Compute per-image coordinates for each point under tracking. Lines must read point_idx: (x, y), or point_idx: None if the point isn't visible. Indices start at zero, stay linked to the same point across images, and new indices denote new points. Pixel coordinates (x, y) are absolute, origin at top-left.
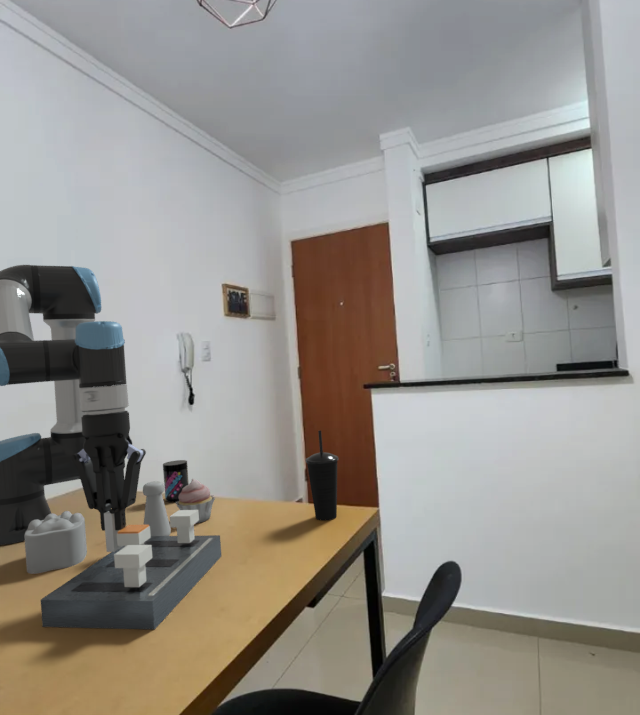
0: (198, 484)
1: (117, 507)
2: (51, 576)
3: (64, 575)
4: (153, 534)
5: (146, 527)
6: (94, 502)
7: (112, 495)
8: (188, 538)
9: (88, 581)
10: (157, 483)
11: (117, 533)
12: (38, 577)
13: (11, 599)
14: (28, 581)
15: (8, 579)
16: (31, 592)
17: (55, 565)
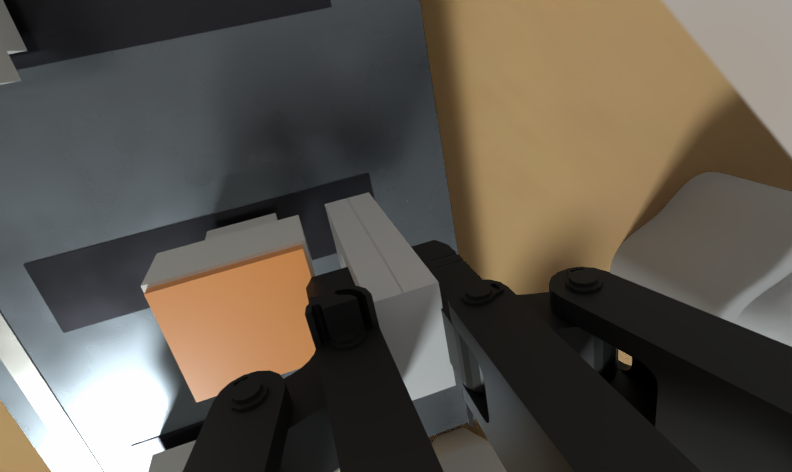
0: None
1: (323, 355)
2: (631, 176)
3: (593, 194)
4: (451, 465)
5: (186, 373)
6: (573, 312)
7: (392, 422)
8: (153, 469)
9: (312, 23)
10: None
11: (305, 245)
12: (668, 158)
13: (645, 5)
14: (680, 126)
15: (752, 119)
16: (615, 66)
17: (662, 221)
